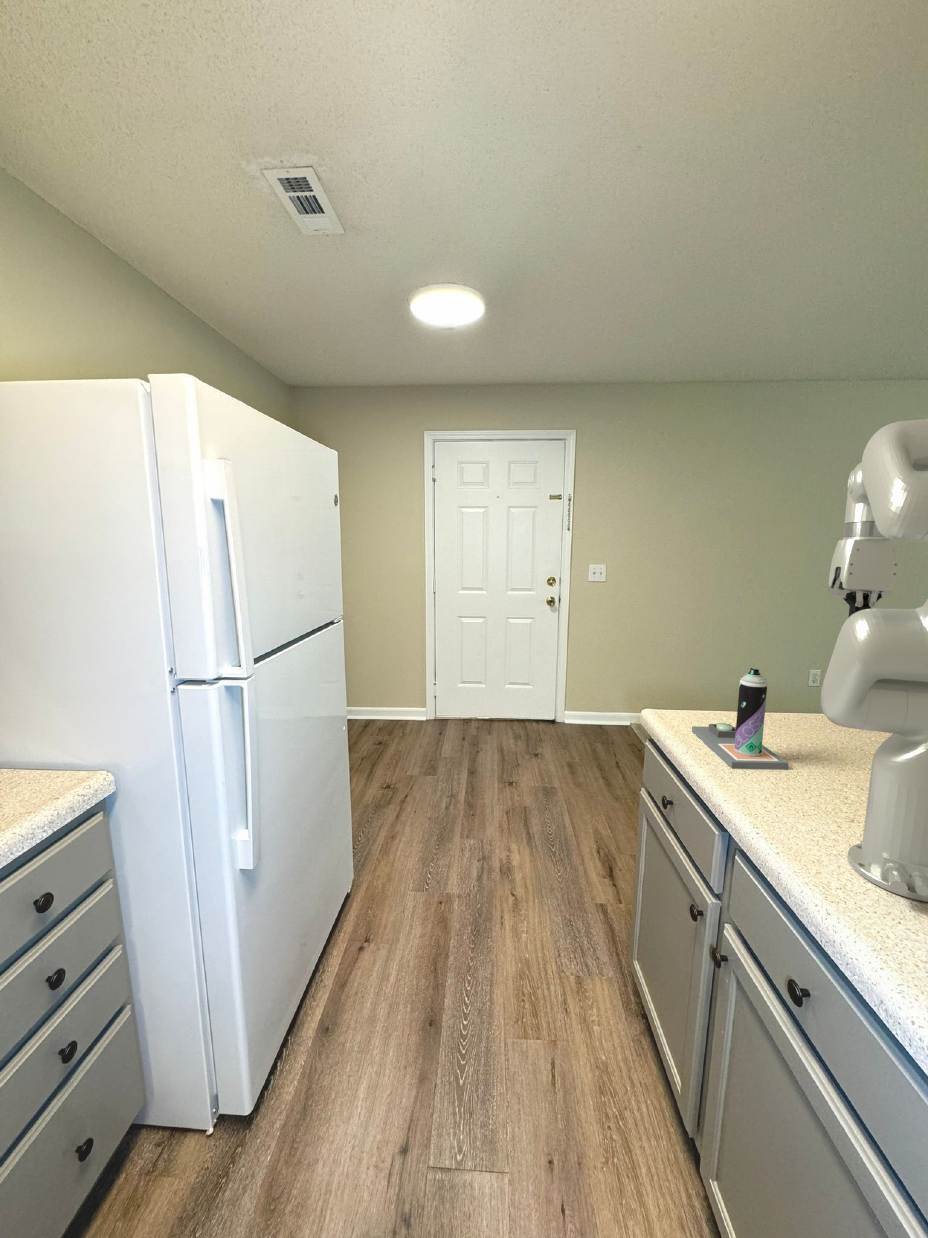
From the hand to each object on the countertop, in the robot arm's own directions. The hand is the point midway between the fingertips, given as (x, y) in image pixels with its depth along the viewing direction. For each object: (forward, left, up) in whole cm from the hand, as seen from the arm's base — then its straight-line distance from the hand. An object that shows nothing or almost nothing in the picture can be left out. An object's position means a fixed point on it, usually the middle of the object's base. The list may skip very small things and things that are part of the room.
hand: (858, 626), depth 97 cm
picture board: (+8, +20, -33) cm, 40 cm away
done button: (+13, +24, -31) cm, 41 cm away
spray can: (+3, +17, -32) cm, 36 cm away
